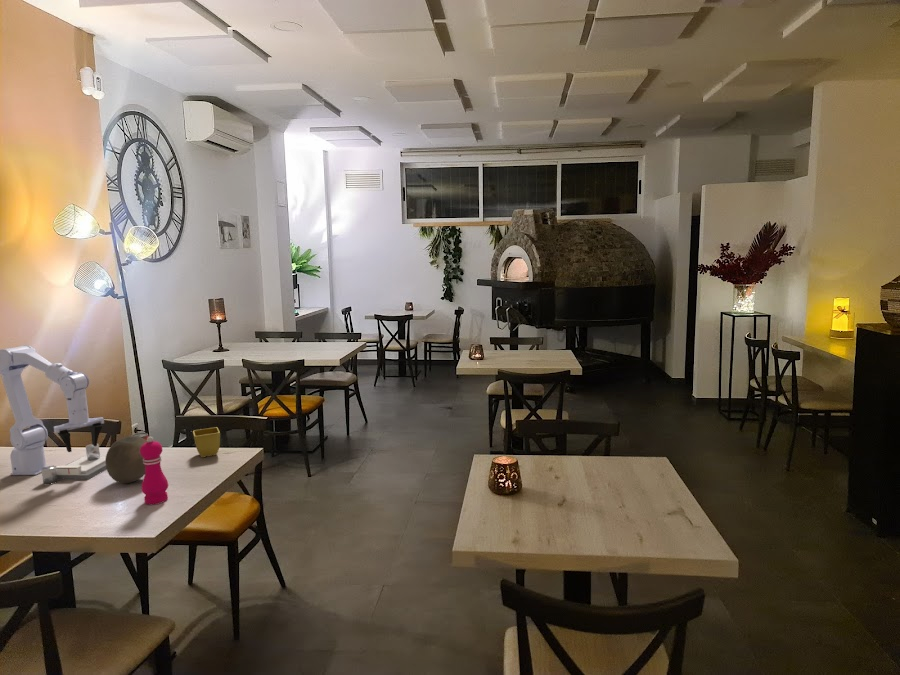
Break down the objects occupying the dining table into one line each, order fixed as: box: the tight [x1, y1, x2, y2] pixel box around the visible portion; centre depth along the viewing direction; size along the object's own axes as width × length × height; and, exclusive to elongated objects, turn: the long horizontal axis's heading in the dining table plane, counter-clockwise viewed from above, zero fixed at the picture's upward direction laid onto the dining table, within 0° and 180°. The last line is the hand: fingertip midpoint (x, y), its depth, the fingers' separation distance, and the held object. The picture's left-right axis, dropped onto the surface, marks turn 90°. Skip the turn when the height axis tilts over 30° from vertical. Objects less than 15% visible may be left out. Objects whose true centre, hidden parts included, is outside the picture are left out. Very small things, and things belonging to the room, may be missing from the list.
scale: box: [56, 456, 107, 480], centre depth 208 cm, size 15×17×4 cm
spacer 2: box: [85, 443, 101, 461], centre depth 212 cm, size 4×4×5 cm
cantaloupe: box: [105, 435, 147, 484], centre depth 195 cm, size 14×14×15 cm
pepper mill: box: [140, 436, 169, 505], centre depth 179 cm, size 7×7×20 cm
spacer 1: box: [41, 465, 59, 485], centre depth 197 cm, size 4×4×5 cm
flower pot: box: [192, 426, 221, 458], centre depth 220 cm, size 9×9×9 cm
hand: (82, 448), depth 201 cm, fingers open, 7 cm apart
